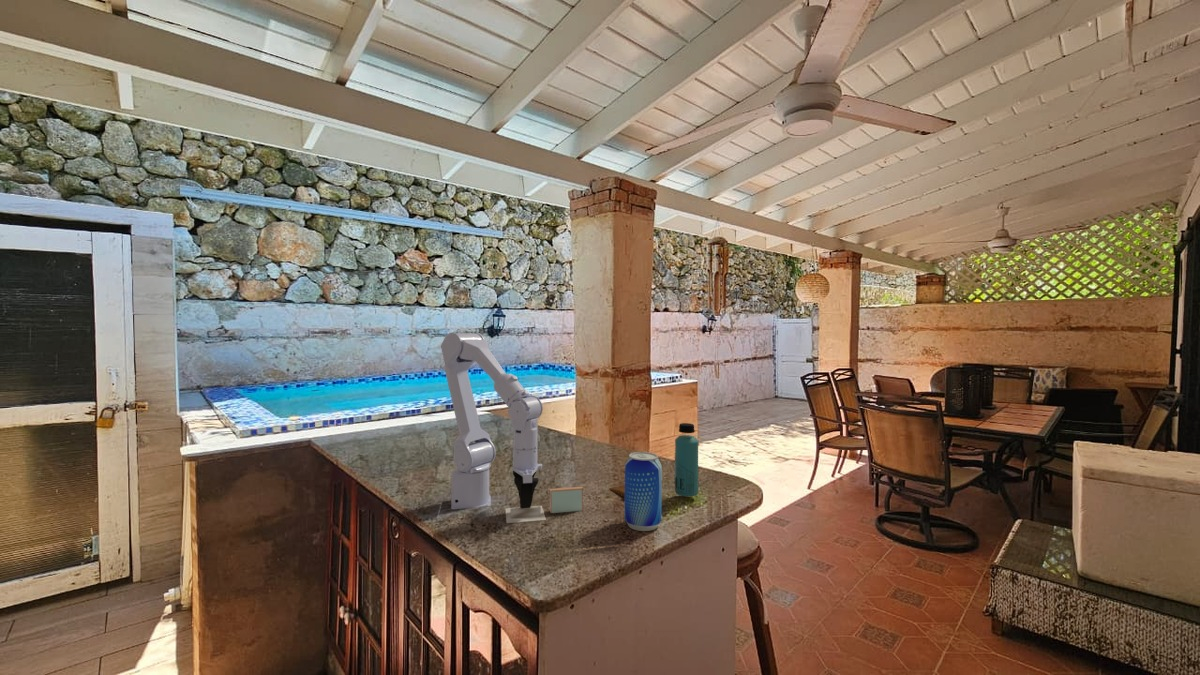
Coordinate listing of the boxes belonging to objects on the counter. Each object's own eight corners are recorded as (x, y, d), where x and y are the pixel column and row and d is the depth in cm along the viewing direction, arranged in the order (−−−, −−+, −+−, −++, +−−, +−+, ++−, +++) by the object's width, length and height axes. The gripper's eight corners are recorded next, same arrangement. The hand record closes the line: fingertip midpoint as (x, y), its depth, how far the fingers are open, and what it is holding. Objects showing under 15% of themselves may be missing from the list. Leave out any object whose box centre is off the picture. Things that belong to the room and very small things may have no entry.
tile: (550, 515, 112) (550, 490, 111) (549, 513, 113) (549, 488, 113) (582, 512, 113) (583, 488, 113) (581, 510, 115) (581, 486, 115)
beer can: (664, 520, 109) (665, 452, 109) (657, 535, 101) (657, 461, 101) (630, 515, 112) (630, 449, 111) (620, 529, 104) (620, 458, 103)
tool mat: (506, 525, 105) (506, 523, 105) (505, 510, 114) (505, 508, 114) (546, 521, 108) (546, 519, 108) (541, 507, 116) (541, 505, 116)
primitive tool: (608, 489, 131) (608, 477, 131) (625, 487, 134) (625, 475, 134) (641, 514, 114) (641, 499, 114) (660, 511, 116) (660, 497, 116)
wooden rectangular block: (510, 518, 108) (510, 488, 108) (510, 513, 111) (510, 484, 111) (540, 515, 110) (540, 486, 110) (539, 510, 113) (539, 482, 113)
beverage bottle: (702, 496, 125) (702, 423, 125) (693, 504, 119) (694, 427, 119) (679, 492, 128) (680, 420, 128) (669, 499, 123) (670, 424, 123)
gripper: (545, 454, 105) (545, 513, 105) (539, 439, 119) (538, 492, 119) (514, 455, 103) (513, 516, 103) (511, 441, 117) (510, 494, 117)
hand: (525, 503), depth 111 cm, fingers open, 4 cm apart
